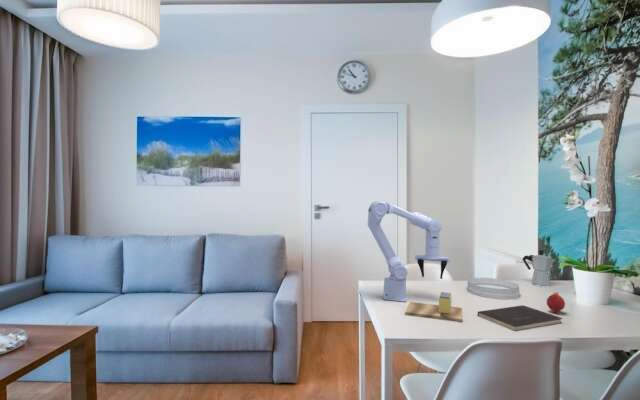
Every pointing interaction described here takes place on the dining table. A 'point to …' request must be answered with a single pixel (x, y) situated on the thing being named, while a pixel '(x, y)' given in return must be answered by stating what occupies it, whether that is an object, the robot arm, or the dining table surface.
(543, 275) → the coffee maker
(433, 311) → the board
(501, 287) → the dish
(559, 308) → the onion
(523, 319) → the hardcover book
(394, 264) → the robot arm
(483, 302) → the dining table surface
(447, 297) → the block
